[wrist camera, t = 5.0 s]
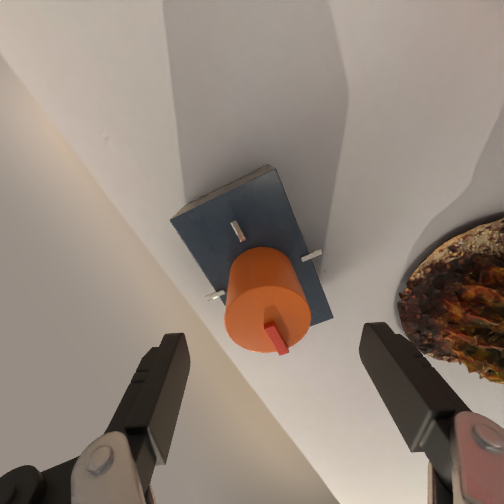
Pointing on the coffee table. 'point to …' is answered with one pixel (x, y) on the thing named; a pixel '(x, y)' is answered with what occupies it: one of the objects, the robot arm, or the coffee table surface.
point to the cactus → (460, 302)
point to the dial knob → (265, 302)
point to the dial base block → (248, 233)
